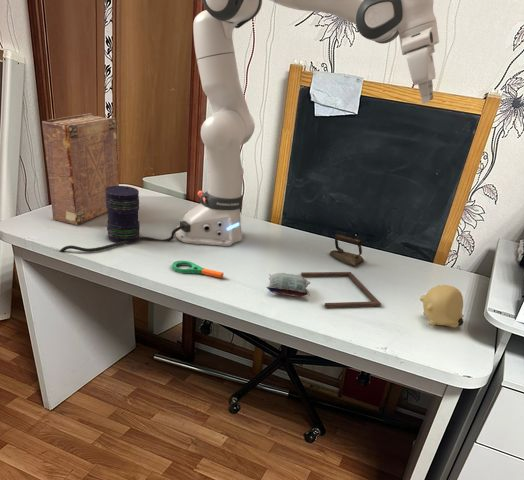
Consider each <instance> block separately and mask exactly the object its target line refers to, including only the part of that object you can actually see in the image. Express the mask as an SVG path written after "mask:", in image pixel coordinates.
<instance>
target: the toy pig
mask: <svg viewBox="0 0 524 480" xmlns="http://www.w3.org/2000/svg"><path fill="white" fill-rule="evenodd" d="M419 300H420V302H422V309H423V313H422V314H423V316H425V317H426V318H427V320H428V321H429V326H431V327H433V326H435V325H437V326H445V327H448V328H457V327H462V325H463V324H464V319H463V318H464V314H463V308H464V297H463V294H462V292H461V291H460V290H459V289H458V288H457V287H455V286H453V285H449V284H439V285H436V286H434V287H431V288H430V289H429V290H428V291H427V292H426V294H425V295H421V296H420V297H419Z"/></svg>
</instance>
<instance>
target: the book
mask: <svg viewBox="0 0 524 480" xmlns="http://www.w3.org/2000/svg"><path fill="white" fill-rule="evenodd" d="M41 125H42V134H43V142H44V144H43V145H44V152H45V160H46V169H47V176H48V185H49V194H50V205H51V213H52V220H55V221H58V222H62V223H68V224H71V225H74V226H79V225H81V224H84V223H86V222H88V221H90V220H92V219H95V218H97V217H100V216H102V215H104V214H106V213H107V208H106V192H105V189H106V188H108V187H111V186H120V180H119V178H120V177H119V176H120V175H119V157H118V156H119V155H118V154H119V153H118V135H117V118H116V117H103V116H98V115H94V113H93V112H90V113H83V114H77V115H71V116H64V117H59V118H58V117H57V118H53V119H48V120H42V121H41Z"/></svg>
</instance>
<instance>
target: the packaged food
mask: <svg viewBox="0 0 524 480" xmlns="http://www.w3.org/2000/svg"><path fill="white" fill-rule="evenodd" d="M268 276H269V277H268V281H269V285H267V286H266V287H265V288H266V289H267V290H268V291H270V292H271V293H272V294H277V295H284V296H290V297H306V296H308V297H310V294H309V291H308V290H307V287H308V286H309V285H310V284H311V281H309V280H308V279H306V277H302V276H301V275H298V274H293V273H286V272H277V273H273V274H270V273H269V274H268Z"/></svg>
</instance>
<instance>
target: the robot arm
mask: <svg viewBox="0 0 524 480" xmlns="http://www.w3.org/2000/svg"><path fill="white" fill-rule="evenodd" d="M201 1H202V4H203V6H204V8H205V10H203V11H200V12H199V13H198V14H196V16H195V17H194V20H193V23H192V29H193V31H192V32H193V46H194V52H195V57H196V58H195V59H196V64H197V68H198V74H199V79H200V83H201V88H202V89H201V90H202V91H203V93H204V94H205V97H207V100H208V101H209V104H210V106H211V108H212V110H213V113H211V114H210V115H209V116H208V117H207V118H205V120H204V121H203V122H202V124H201V127H200V139H201V141H202V143H203V145H204V146H205V151H206V158H207V159H206V160H207V168H208V169H207V170H208V172H207V190H206V191H205V192H204V191H203V190H199V191H198V192H197V196H198V198H200V203H198V204H197V205H196V206H195V207H193V208H191V209H190V210H188V211H187V212H186V213H184V216H183V219H182V220H180V221H179V225H177V226H176V227H175V229H173V230H172V232H171V234H170V237H168V238H165V239H164V238H163V239H160V238H154V237H151V236H140V237H138V238H137V240H139V241H152V242H171V241H172V240H173V239H174V238H175V236H176V238H177V239H178V240H179V241H180V242H183V243H185V244H195V245H197V244H199V245H209V246H210V245H211V246H223V247H230V246H232V245H233V244H235V243H238V242H240V241H242V240H243V237H244V236H243V233H242V232H243V231H242V223H241V213H242V210H243V204H244V203H243V201H244V199H243V198H244V197H243V195H242V193H243V183H244V168H243V165H242V159H241V158H242V157H241V147H242V146H243V145H245V144H246V143H248V142H249V141H250V140H251V138H252V136H253V134H254V132H255V128H256V127H255V124H256V123H255V120H254V117H253V115H252V114H251V113H250V110H249V107H248V104H247V101H246V98H245V94H244V92H243V89H242V85H241V81H240V75H239V70H238V69H239V68H238V63H237V58H236V53H235V47H234V39H233V32H234V29H239V28H241V27H243V26H244V25H245V24H247V23H249V22H250V21H252V20H253V19H254V18H255V17H256V16H257V15H258V14H259V12H260V10H261V9H262V5H263V0H201ZM269 1H271V2H273V3H275V4H277V5H280V6H283V7H285V8H288V9H293V10H297V11H304V12H317V13H325V14H330V15H333V16H336V17H338V18H340V19H342V20H345V21H347V22H349V23H352V24H354V25H355V26H356V29H357V31H358V33H359V34H360V35H361V36H362V37H363V38H364V39H367V40H369V41H373V42H375V43H377V44H380V45H381V44H384V45H385V44H388V43H390V42H393V41H394V40H395V39H397V37H399V43H400V49H401V55H402V56H405V58H406V62H407V68H408V71H409V75H410V78H411V81H412V84H413V86H417V87H418V91H419V95H420V99H421V103H422V104H423V105H424V104H428V103H429V102H430V101H432V100H433V99H434V85H433V84H434V83H433V80H435V79H436V69H435V68H436V67H435V62H434V56H433V54H434V53H435V52H436V51H435V50H436V49H435V45H437V44H439V43H440V37H439V31H438V25H437V24H438V23H437V17H436V16H435V13H434V2H435V1H434V0H269ZM128 242H129V241H128V240H125V241H122V242H118V243H114V242H113V243H110V244H106V245H102V246H98V247H90V248H85V247H81V246H76V245H66V246H63V247H62V248H61V249H60V250H59V253H64V252H65V251H67V250H76V251H80V252H87V253H91V252H99V251H103V250H108V249H111V248H114V247H119V246H123V245H127V244H126V243H128Z"/></svg>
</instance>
